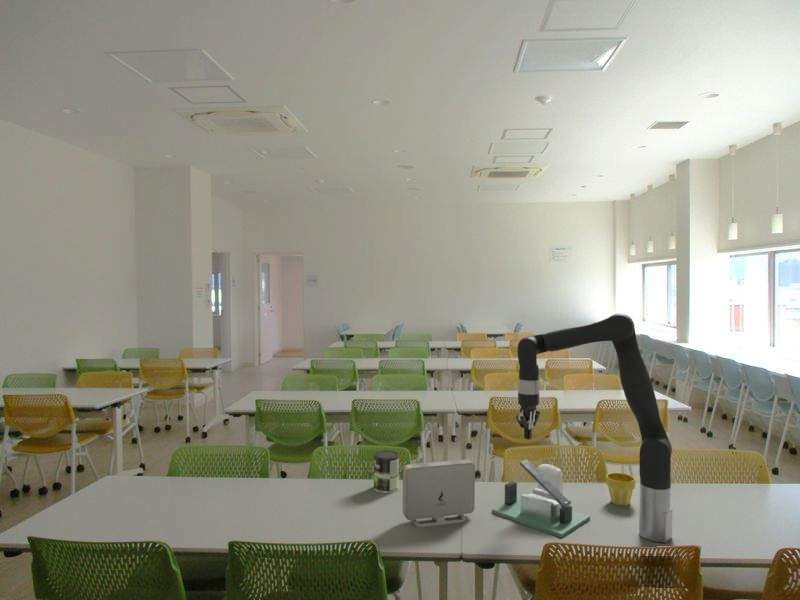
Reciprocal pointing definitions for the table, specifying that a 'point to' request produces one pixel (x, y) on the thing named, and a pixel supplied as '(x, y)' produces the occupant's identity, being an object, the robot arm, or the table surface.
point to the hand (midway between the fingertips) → (527, 438)
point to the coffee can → (386, 471)
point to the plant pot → (620, 487)
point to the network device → (438, 491)
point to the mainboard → (552, 528)
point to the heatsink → (538, 504)
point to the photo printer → (552, 476)
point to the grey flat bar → (545, 483)
